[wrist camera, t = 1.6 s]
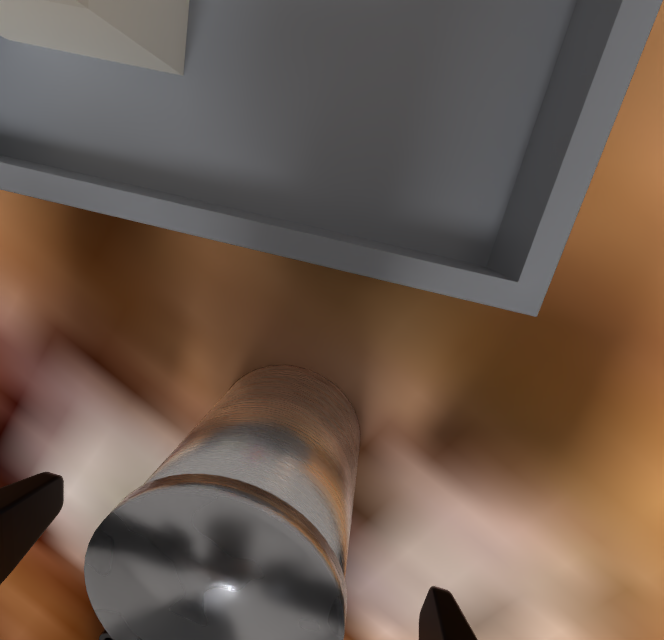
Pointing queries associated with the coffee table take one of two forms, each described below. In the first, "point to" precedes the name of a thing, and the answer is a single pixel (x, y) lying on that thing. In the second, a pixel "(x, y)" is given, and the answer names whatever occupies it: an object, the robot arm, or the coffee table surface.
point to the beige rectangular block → (103, 29)
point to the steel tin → (238, 522)
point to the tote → (344, 133)
